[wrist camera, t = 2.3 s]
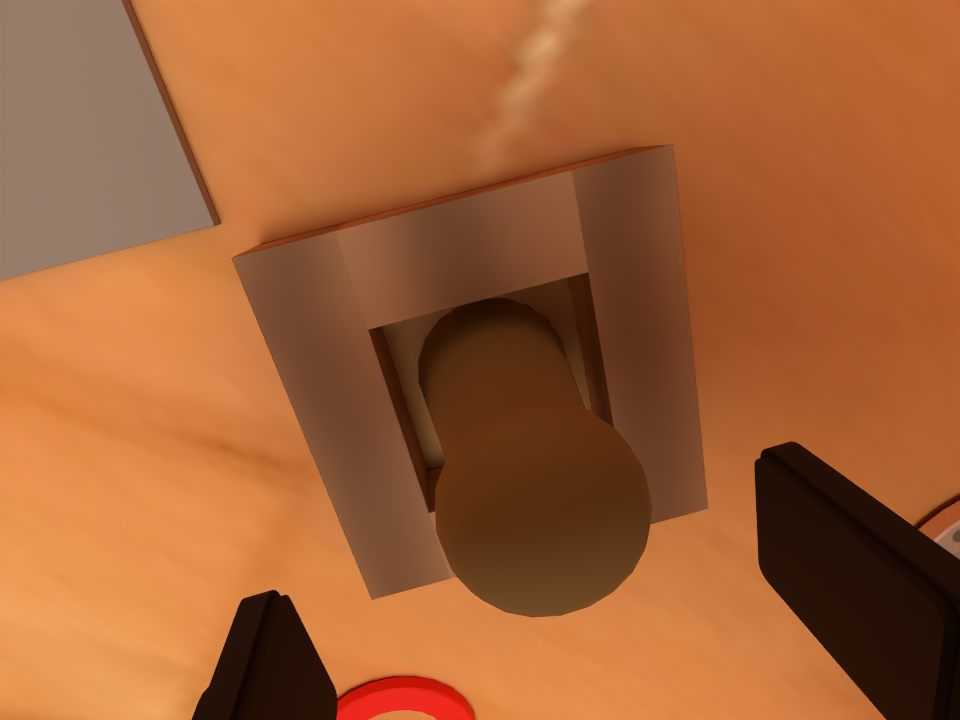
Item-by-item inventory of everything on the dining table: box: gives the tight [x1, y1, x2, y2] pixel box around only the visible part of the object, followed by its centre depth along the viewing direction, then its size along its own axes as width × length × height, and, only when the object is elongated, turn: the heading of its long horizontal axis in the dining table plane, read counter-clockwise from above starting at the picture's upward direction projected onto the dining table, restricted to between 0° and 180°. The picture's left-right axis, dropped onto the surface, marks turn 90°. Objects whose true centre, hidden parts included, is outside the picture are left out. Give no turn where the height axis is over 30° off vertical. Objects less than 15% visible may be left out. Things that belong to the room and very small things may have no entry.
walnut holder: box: [232, 144, 708, 600], centre depth 20 cm, size 14×14×3 cm
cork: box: [418, 298, 653, 617], centre depth 16 cm, size 6×6×11 cm
